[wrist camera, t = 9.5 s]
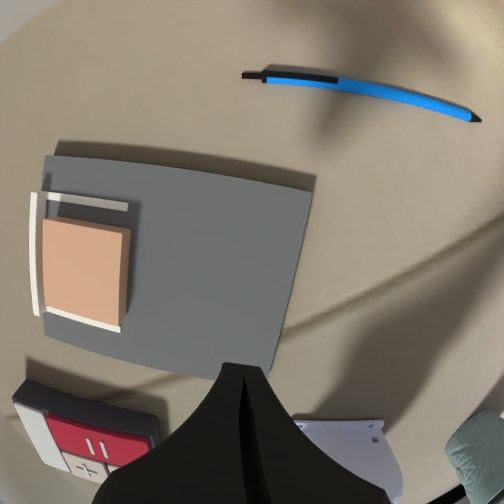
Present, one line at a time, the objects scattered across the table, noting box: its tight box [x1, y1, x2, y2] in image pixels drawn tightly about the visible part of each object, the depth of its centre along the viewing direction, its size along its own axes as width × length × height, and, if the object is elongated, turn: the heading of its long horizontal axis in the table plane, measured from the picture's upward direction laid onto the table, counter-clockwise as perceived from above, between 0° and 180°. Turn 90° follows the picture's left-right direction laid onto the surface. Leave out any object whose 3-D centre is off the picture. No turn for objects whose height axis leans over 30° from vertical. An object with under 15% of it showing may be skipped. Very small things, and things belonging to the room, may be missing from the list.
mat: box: [29, 155, 312, 380], centre depth 18 cm, size 18×14×2 cm
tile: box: [42, 216, 131, 326], centre depth 17 cm, size 2×6×6 cm
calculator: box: [12, 379, 161, 483], centre depth 22 cm, size 11×4×15 cm
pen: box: [242, 70, 483, 122], centre depth 17 cm, size 1×19×1 cm, turn 89°
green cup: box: [445, 409, 504, 504], centre depth 20 cm, size 10×10×12 cm
